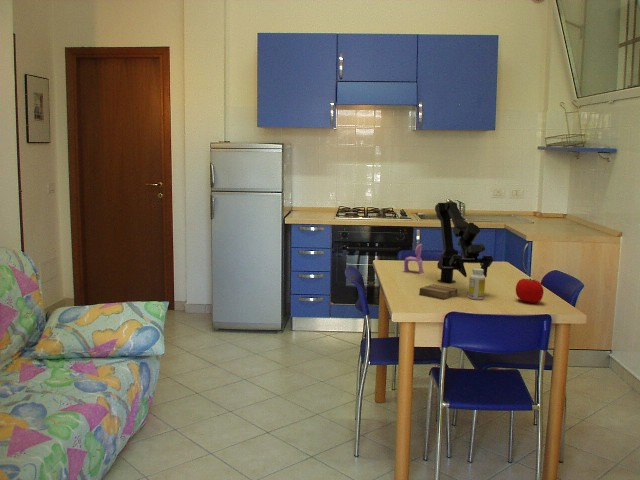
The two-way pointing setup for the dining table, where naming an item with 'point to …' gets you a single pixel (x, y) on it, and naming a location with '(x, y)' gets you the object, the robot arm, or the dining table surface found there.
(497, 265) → the dining table surface
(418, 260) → the toy chair
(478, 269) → the supplement bottle
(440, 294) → the base
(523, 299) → the tomato
